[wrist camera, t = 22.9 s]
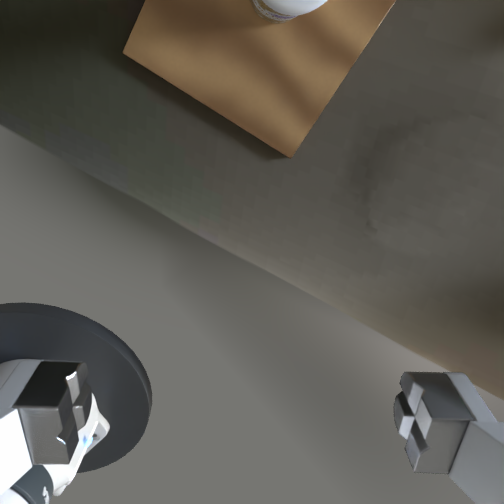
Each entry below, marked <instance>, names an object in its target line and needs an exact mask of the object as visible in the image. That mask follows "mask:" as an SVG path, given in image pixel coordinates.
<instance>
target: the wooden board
mask: <svg viewBox="0 0 504 504" xmlns="http://www.w3.org/2000/svg"><path fill="white" fill-rule="evenodd" d="M395 1H396V0H327V1H326V2H325V3H324V4H323V5H321V6H320V7H318V8H317V9H315V10H313V11H311V12H309V13H306V14H302V15H298V16H297V17H295V18H294V19H292V20H290V21H288V22H286V23H281V24H276V23H270V22H268V21H266V20H264V19H262V18H261V17H260V16H259V15H257V13H256V12H255V11H254V9H253V7H252V4H251V3H250V0H145V2H144V4H143V7H142V9H141V11H140V13H139V16H138V18H137V20H136V23H135V25H134V27H133V29H132V32H131V34H130V36H129V38H128V41H127V43H126V45H125V48H124V50H123V54H125V55H126V56H128V57H129V58H131V59H133V60H134V61H136V62H137V63H139V64H141V65H142V66H144V67H145V68H147V69H149V70H150V71H152V72H153V73H155V74H156V75H158V76H160V77H161V78H163V79H164V80H166V81H168V82H169V83H171V84H172V85H174V86H176V87H177V88H179V89H180V90H182V91H183V92H185V93H187V94H188V95H190V96H191V97H193V98H195V99H196V100H198V101H199V102H201V103H203V104H204V105H206V106H207V107H209V108H210V109H212V110H214V111H215V112H217V113H218V114H220V115H222V116H223V117H225V118H226V119H228V120H230V121H231V122H233V123H234V124H236V125H238V126H239V127H241V128H242V129H244V130H245V131H247V132H249V133H250V134H252V135H253V136H255V137H257V138H258V139H260V140H261V141H263V142H265V143H266V144H268V145H269V146H271V147H272V148H274V149H276V150H277V151H279V152H280V153H282V154H284V155H285V156H287V157H288V158H290V159H291V158H292V156H293V155H294V153H295V152H296V150H297V149H298V147H299V146H300V144H301V143H302V141H303V140H304V138H305V137H306V135H307V134H308V132H309V131H310V129H311V128H312V126H313V125H314V123H315V122H316V120H317V118H318V117H319V115H320V114H321V112H322V111H323V109H324V108H325V106H326V105H327V103H328V102H329V100H330V99H331V97H332V96H333V94H334V93H335V91H336V90H337V88H338V87H339V85H340V84H341V82H342V81H343V79H344V78H345V76H346V75H347V73H348V72H349V70H350V69H351V67H352V66H353V64H354V63H355V61H356V60H357V58H358V57H359V55H360V54H361V52H362V51H363V49H364V48H365V46H366V45H367V43H368V42H369V40H370V39H371V37H372V36H373V34H374V33H375V31H376V30H377V28H378V27H379V25H380V24H381V22H382V21H383V19H384V18H385V16H386V14H387V13H388V11H389V10H390V8H391V7H392V5H393V4H394V2H395Z"/></svg>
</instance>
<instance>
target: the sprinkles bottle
mask: <svg viewBox="0 0 504 504" xmlns="http://www.w3.org/2000/svg"><path fill="white" fill-rule="evenodd" d="M326 1H327V0H250V3H251V4H252V7H253V9H254V11H255V12H256V13H257V15H259V16H260V17H261V18H262V19H264V20H266V21H268V22H270V23H276V24H281V23H286V22H288V21H290V20H292V19H294V18H295V17H297V16H298V15H302V14H306V13H309V12H311V11H313V10H315V9H317V8H318V7H320V6H321V5H323V4H324V3H325V2H326Z"/></svg>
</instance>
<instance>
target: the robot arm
mask: <svg viewBox="0 0 504 504" xmlns="http://www.w3.org/2000/svg"><path fill="white" fill-rule="evenodd" d="M88 375H89V372H88V367H87V363H85V362H82V361H64V360H46V359H45V360H38V359H17V360H11V361H7V362H4V363H1V364H0V504H49V502H50V499H51V497H52V495H55V496H59V495H60V494H61V493H62V492H63V490H64V489H65V487H66V485H67V486H68V485H69V484H70V483H71V481H72V479H73V478H74V476H75V474H76V472H77V470H78V468H79V465H80V463H81V461H82V458H83V456H84V455H85V454H86V453H87V452H89V451H90V450H91V449H92V448H93V447H94V446H95V445H96V444H97V443H98V442H100V441H101V440H102V439H103V438H104V437H105V436H106V435H107V433H108V431H109V429H110V425H109V423H108V422H107V420H106V419H105V418H104V417H103V416H102V415H101V413H100V412H99V410H98V407H97V403H96V400H95V397H94V395H93V393H92V391H91V387H90V386H89V385H88V384H87V383H86V382H85V381H86V379H87V377H88ZM400 385H401V388H402V390H403V391H402V392H400V393H399V394H398V395H397V396H396V398H395V403H394V419H395V424H396V427H397V429H398V433H399V434H400V435H401V436H402V437H403V438H405V439H406V440H407V443H406V446H405V451H406V453H407V456H408V458H409V461H410V463H411V466H412V468H413V471H414V472H415V473H433V474H434V473H435V474H449V477H450V478H451V479H452V480H453V481H454V482H455V483H456V484H457V485H458V486H459V487H460V488H461V489H462V490H463V491H464V492H465V493H466V494H467V495H468V496H469V498H470V499H472V501H473V502H474V503H476V504H504V422H497V420H496V418H495V417H494V415H493V414H492V412H491V411H490V409H489V408H488V407H487V405H486V404H485V402H484V401H483V399H482V398H481V396H480V395H479V393H478V392H477V390H476V389H475V387H474V386H473V384H472V383H471V381H470V380H469V378H468V377H467V375H465V374H464V373H459V372H443V373H439V372H438V373H437V372H404V373H403V375H402V376H401V380H400Z"/></svg>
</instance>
